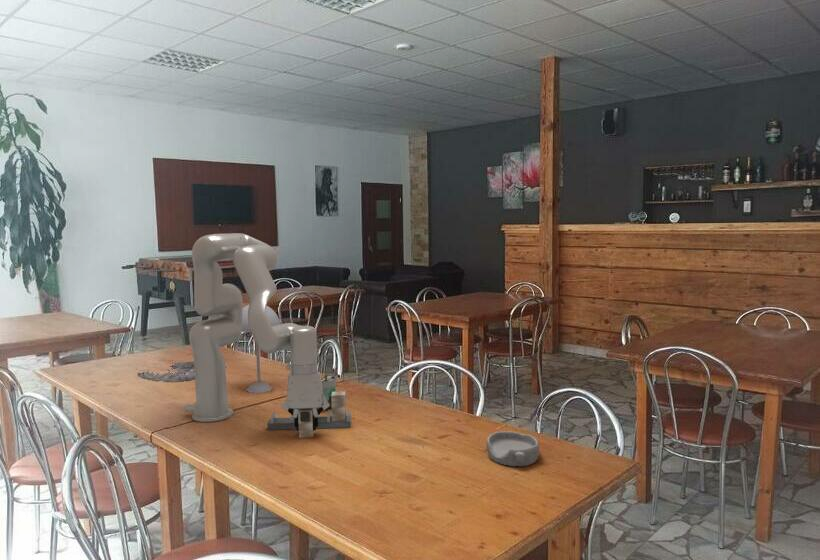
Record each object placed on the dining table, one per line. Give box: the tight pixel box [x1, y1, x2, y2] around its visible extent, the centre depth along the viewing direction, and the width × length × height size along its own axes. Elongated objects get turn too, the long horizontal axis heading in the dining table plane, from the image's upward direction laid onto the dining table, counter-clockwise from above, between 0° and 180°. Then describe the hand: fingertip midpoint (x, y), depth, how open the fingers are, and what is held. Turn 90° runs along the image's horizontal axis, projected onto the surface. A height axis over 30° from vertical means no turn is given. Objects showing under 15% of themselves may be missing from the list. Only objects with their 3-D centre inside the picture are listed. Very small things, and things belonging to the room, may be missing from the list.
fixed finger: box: [329, 390, 347, 421], centre depth 183 cm, size 5×4×8 cm
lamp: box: [242, 304, 281, 394], centre depth 222 cm, size 17×17×33 cm
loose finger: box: [298, 408, 315, 438], centre depth 175 cm, size 4×5×8 cm
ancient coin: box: [137, 361, 195, 383], centre depth 253 cm, size 33×35×1 cm
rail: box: [266, 409, 352, 431], centre depth 183 cm, size 25×5×4 cm, turn 92°
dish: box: [486, 430, 540, 467], centre depth 158 cm, size 14×14×5 cm
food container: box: [318, 373, 338, 412], centre depth 201 cm, size 12×6×10 cm, turn 168°
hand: (306, 428), depth 176 cm, fingers closed on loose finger, 4 cm apart
